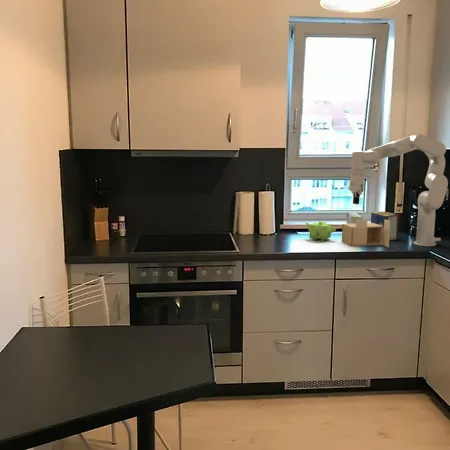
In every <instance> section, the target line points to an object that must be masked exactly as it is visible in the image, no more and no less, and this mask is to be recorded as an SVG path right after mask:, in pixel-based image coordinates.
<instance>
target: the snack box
mask: <svg viewBox="0 0 450 450" xmlns="http://www.w3.org/2000/svg"><path fill="white" fill-rule="evenodd" d="M356 220H363V216H362V215H360V214H358V213H356V212H355V211H349V212H346V224H355V223H356Z"/></svg>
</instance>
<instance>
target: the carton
mask: <svg viewBox="0 0 450 450" xmlns="http://www.w3.org/2000/svg"><path fill="white" fill-rule="evenodd" d="M353 228H356V223H355V224H347V223H342V228H341V231H342V232H341V243H344V244H346V245H348V246H350V247H354V246H356V247H359V246H361V245H354V246H352V240H353ZM382 234H383V226H381V225H378V224H375V223H371V222H367V245H366V246H378V245H383V244H382Z"/></svg>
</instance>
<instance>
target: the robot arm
mask: <svg viewBox="0 0 450 450" xmlns="http://www.w3.org/2000/svg"><path fill="white" fill-rule="evenodd" d="M414 150H419V151H421V152H423V153H424V154H425V156H427V157H428V161H429V165H428V169H427V172H426V176H425V179H424V185H425V187H426V188H427V189H429V190H424V191H422V192H420V193H419V195H418V198H417V210H418V211H417V225H416V226H417V227H416V240H414V241H412V244H413V245H415V246H420V247H436V246H437V243H436V242H441V240H442V239H441V237H435V236H434V235H435V224H436V223H435V222H436V210H438V209H439V208H440V207H442V205H443V203H444V200H445V197H446V193H447V190H448V186H449V185H448V184H449V180H448V178H447V177H446V176H445V175H444V172H445V168H446V157H445V154H446V152H447V148H446V146H445V144H444V143H443V142H441V141H439V140H437V139H434V138H431V137H429V136H428V135H425V134H421V133H416V134H415V133H414V134H411V135H407V136H405V137H403V138H400V139H397V140H393V141H391V142H388V143H386V144H381V145H379V146H376V147H373V148H370V149H368V150H366V151H363V150H353V151H352V155H351V168H350V171H351V173H350V178H349V185H348V190H349V192H351V193H352V204H353V205H359V204H360V198H361V196H362V195H363V193H364V192H365V173H366V171H365V169H366V164H370V165H375V164H377V163H378V164H379V162H380V160H381V159H384V158H385V159H386V158H391V157H392V158H393V157H397V156H401V155H404V154H406V153H410V152H412V151H414Z"/></svg>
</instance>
